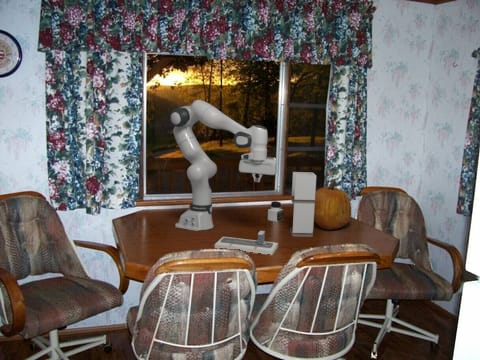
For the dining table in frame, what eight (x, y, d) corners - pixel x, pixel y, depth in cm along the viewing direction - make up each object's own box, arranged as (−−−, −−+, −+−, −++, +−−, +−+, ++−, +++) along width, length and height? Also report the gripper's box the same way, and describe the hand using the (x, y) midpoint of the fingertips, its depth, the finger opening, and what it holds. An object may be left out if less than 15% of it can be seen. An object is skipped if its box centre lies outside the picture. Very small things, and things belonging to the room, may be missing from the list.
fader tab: (256, 246, 228) (256, 233, 226) (258, 243, 232) (258, 230, 231) (263, 246, 226) (264, 234, 225) (265, 244, 231) (266, 231, 230)
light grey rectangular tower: (309, 231, 264) (312, 172, 258) (312, 236, 254) (316, 175, 248) (289, 230, 264) (292, 172, 258) (292, 236, 253) (295, 175, 247)
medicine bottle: (276, 222, 282) (277, 203, 280) (267, 220, 286) (268, 201, 284) (282, 220, 288) (283, 201, 285) (273, 218, 292) (274, 200, 290)
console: (214, 248, 229) (214, 242, 229) (223, 240, 242) (223, 234, 242) (272, 255, 221) (272, 249, 221) (277, 246, 234) (278, 241, 234)
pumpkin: (322, 219, 291) (325, 174, 286) (355, 226, 277) (359, 179, 272) (301, 227, 271) (304, 178, 266) (335, 235, 257) (339, 184, 252)
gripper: (278, 157, 239) (277, 182, 241) (241, 154, 244) (240, 179, 247) (276, 158, 233) (274, 184, 235) (238, 155, 238) (237, 181, 241)
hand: (257, 181), depth 241 cm, fingers closed
